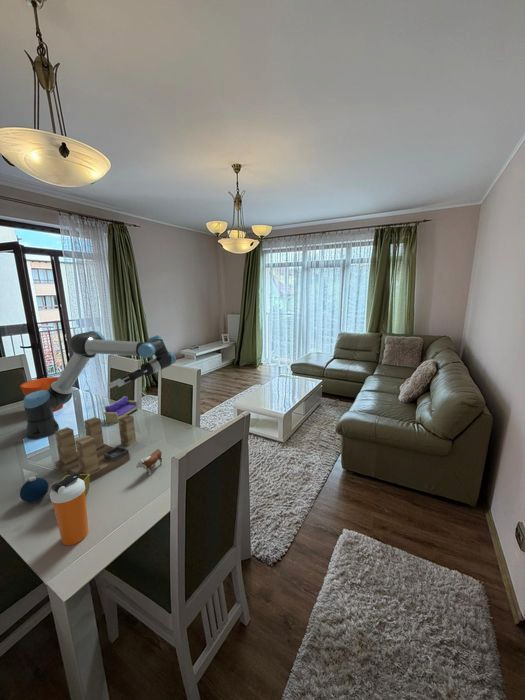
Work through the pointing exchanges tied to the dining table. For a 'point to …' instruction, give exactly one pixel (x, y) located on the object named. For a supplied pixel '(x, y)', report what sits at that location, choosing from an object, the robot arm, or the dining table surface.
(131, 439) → the stool leg
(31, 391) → the flowerpot
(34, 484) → the christmas ornament
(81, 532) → the shaker bottle
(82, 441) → the tan post-studded fixture
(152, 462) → the bull figurine
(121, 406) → the toy sofa
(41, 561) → the dining table surface
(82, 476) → the flower pot
